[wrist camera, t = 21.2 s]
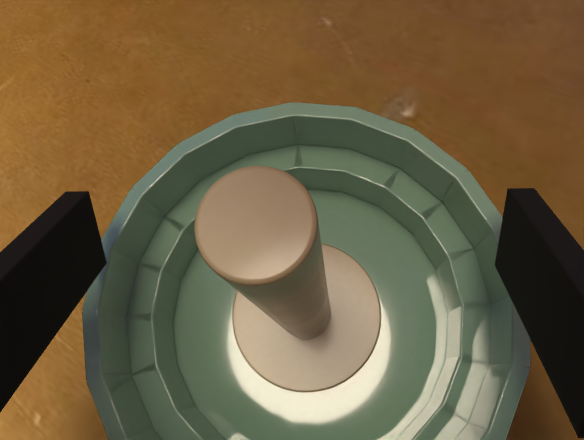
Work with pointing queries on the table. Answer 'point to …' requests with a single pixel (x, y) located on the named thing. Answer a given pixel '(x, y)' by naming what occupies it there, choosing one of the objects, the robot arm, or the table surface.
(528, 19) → the table surface
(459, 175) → the bowl
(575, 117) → the table surface
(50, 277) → the robot arm
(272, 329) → the stick
